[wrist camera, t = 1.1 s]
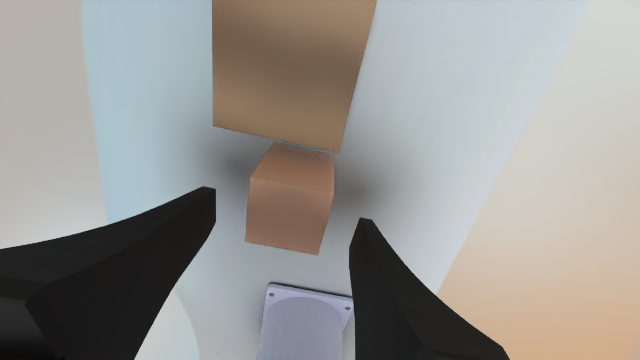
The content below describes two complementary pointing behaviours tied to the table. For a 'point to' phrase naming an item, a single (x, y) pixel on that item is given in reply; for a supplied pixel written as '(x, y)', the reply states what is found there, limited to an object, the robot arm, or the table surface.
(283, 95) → the plinth
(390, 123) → the table surface
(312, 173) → the block
